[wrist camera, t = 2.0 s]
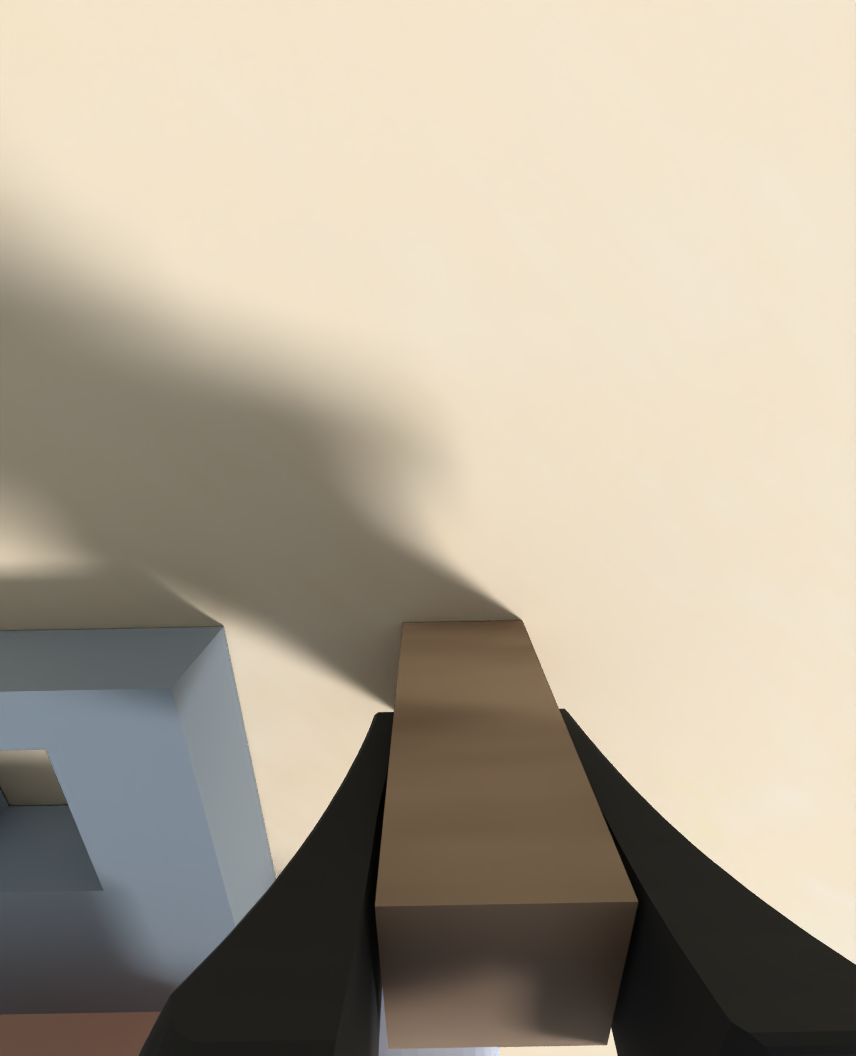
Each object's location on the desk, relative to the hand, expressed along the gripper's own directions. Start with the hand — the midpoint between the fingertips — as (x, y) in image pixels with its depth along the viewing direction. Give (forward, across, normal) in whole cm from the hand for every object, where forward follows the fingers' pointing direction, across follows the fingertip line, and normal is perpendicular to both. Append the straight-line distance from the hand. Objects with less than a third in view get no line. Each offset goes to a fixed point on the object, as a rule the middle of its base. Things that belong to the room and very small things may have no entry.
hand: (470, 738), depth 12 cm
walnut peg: (+3, 0, 0) cm, 3 cm away
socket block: (+3, +15, +6) cm, 16 cm away
